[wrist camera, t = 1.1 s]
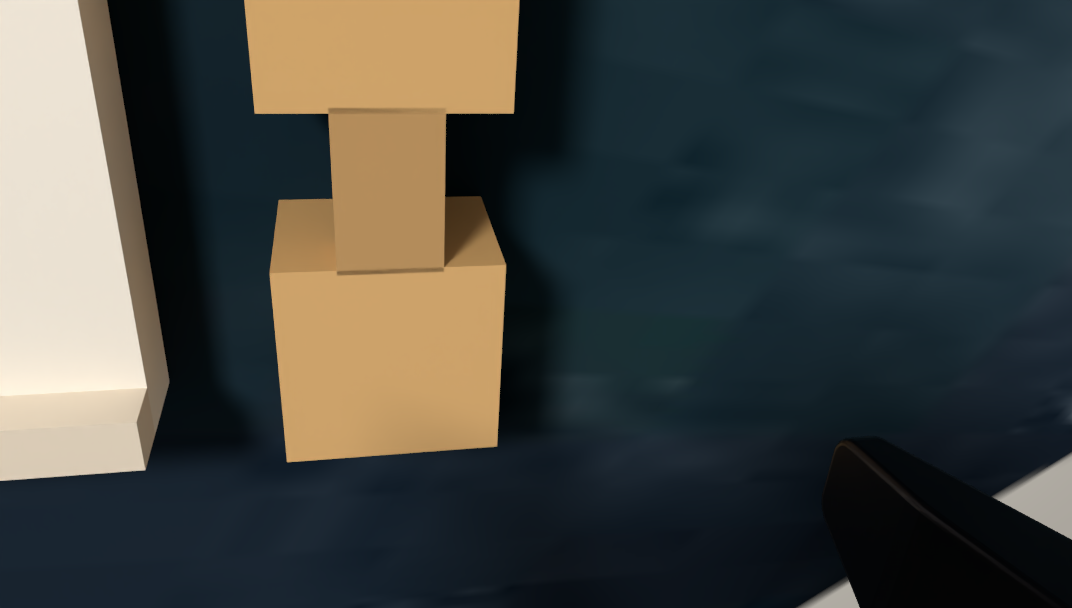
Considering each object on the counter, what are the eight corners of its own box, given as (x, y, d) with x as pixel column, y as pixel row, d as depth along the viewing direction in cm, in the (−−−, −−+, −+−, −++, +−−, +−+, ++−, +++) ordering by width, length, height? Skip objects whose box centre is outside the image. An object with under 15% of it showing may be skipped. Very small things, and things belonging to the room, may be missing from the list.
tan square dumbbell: (492, -175, 17) (528, -167, 14) (475, 359, 22) (497, 446, 20) (246, -190, 16) (227, -186, 13) (293, 369, 22) (287, 462, 19)
